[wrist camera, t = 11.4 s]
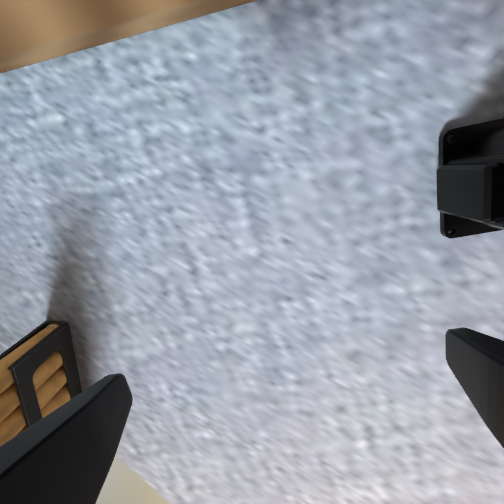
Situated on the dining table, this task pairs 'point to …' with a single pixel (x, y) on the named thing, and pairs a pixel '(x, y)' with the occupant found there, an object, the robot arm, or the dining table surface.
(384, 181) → the dining table surface
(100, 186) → the dining table surface
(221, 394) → the dining table surface
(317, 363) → the dining table surface
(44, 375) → the ammunition clip
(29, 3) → the board
